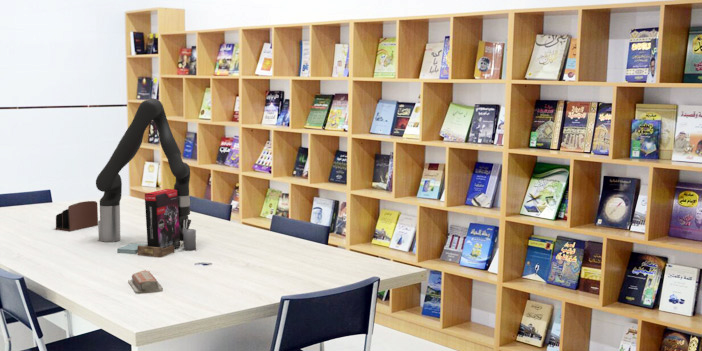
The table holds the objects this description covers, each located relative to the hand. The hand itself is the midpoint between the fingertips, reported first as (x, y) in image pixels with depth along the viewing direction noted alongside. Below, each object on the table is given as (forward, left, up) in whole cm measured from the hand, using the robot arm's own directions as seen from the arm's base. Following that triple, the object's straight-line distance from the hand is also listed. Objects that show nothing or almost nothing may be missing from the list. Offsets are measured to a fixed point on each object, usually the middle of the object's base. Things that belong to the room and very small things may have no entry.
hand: (182, 240), depth 361 cm
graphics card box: (-1, -15, -2) cm, 15 cm away
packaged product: (+27, -70, -2) cm, 75 cm away
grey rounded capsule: (+9, -8, -2) cm, 12 cm away
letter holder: (-72, +14, -2) cm, 73 cm away
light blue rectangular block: (-13, -20, -2) cm, 24 cm away
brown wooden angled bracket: (0, -21, -2) cm, 21 cm away
